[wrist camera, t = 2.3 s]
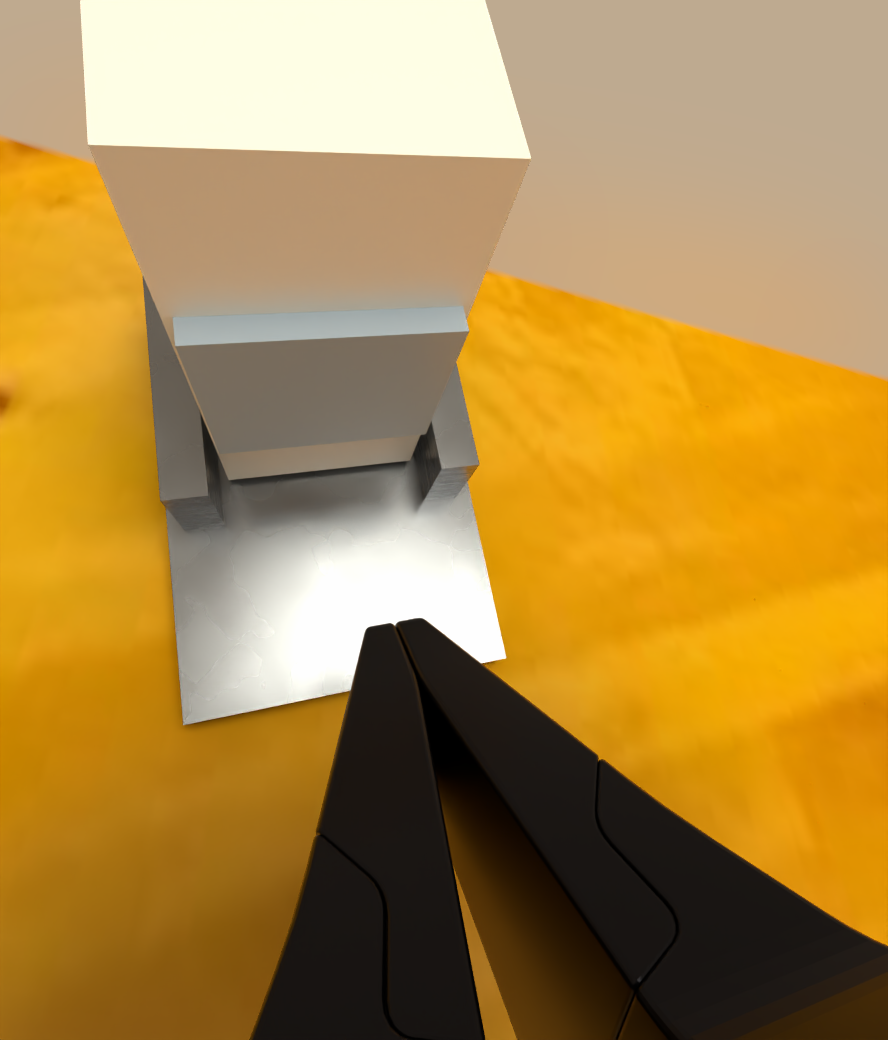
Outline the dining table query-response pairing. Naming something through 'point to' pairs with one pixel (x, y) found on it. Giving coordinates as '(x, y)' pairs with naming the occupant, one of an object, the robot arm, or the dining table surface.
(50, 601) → the dining table surface
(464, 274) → the white rectangular block
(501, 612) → the dining table surface
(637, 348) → the dining table surface
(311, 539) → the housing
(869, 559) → the dining table surface
